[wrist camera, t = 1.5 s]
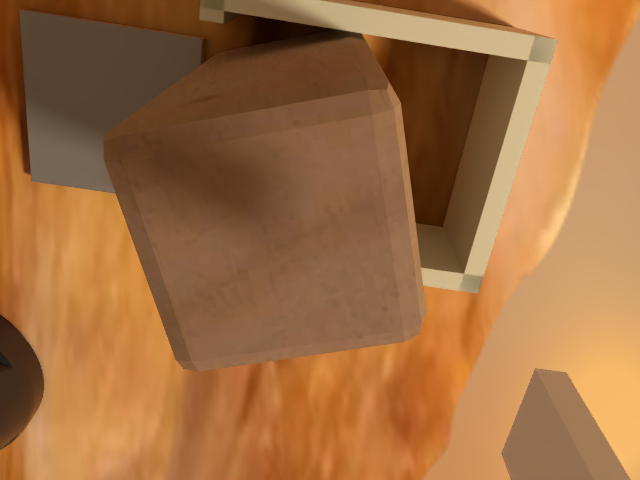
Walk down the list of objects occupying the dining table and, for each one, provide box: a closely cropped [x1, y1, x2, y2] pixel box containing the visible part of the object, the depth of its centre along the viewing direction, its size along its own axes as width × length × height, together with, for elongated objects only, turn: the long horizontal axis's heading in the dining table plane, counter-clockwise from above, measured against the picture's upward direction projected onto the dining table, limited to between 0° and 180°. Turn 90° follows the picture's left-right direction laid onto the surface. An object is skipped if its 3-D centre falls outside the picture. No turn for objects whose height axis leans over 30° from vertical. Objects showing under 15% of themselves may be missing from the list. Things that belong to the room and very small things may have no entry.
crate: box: [199, 0, 558, 293], centre depth 34 cm, size 18×15×7 cm
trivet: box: [19, 9, 204, 193], centre depth 37 cm, size 11×11×1 cm
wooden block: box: [103, 29, 426, 372], centre depth 28 cm, size 10×10×20 cm
